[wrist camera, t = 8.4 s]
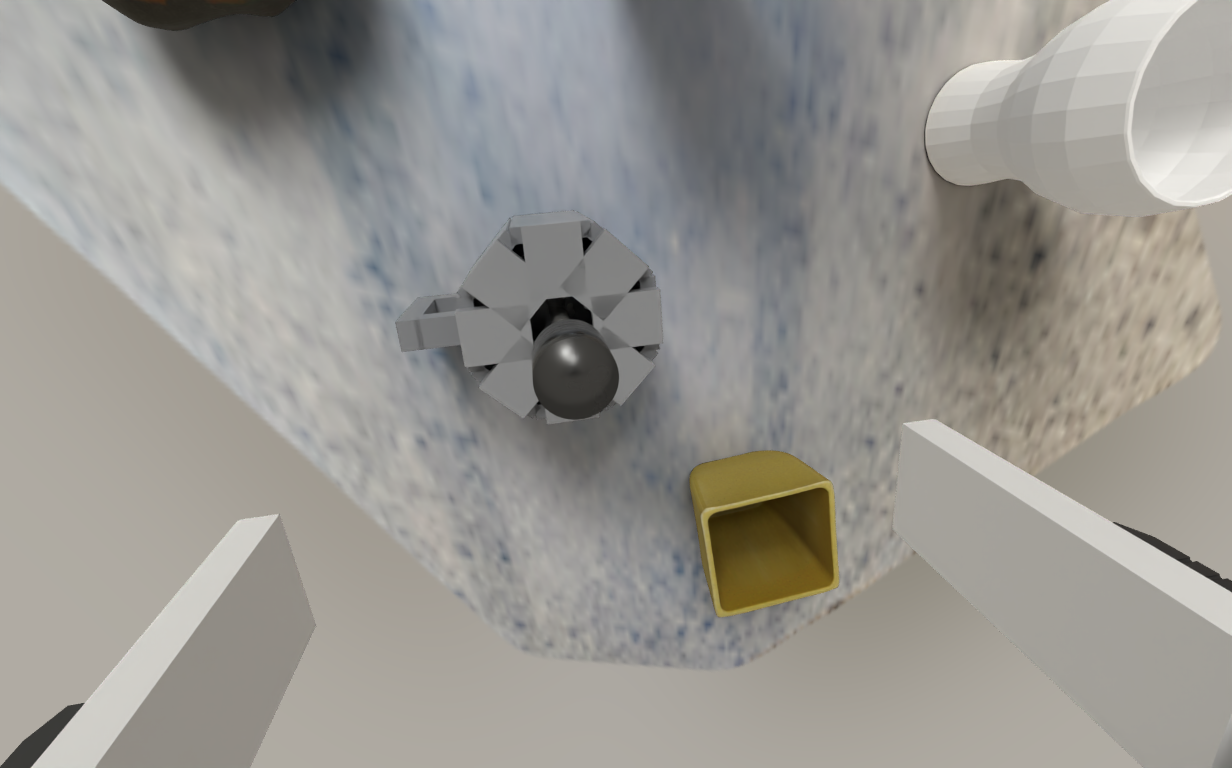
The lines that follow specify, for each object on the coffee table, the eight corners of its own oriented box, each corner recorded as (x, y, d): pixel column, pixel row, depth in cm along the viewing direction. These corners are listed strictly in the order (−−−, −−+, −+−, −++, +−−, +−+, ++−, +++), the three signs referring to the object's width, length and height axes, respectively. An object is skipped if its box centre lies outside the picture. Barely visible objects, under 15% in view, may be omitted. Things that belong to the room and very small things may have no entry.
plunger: (495, 250, 35) (474, 304, 20) (599, 240, 36) (656, 284, 21) (511, 350, 38) (501, 468, 22) (608, 338, 38) (665, 445, 23)
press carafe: (409, 224, 36) (365, 241, 26) (620, 204, 38) (655, 213, 28) (439, 376, 40) (410, 443, 30) (632, 352, 41) (666, 408, 31)
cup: (879, 101, 38) (1087, 54, 24) (1019, 1, 37) (1317, -107, 23) (937, 237, 42) (1146, 265, 28) (1065, 149, 41) (1346, 132, 27)
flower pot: (683, 543, 47) (717, 622, 39) (666, 449, 44) (700, 512, 36) (785, 517, 48) (840, 589, 40) (776, 423, 45) (834, 479, 37)
